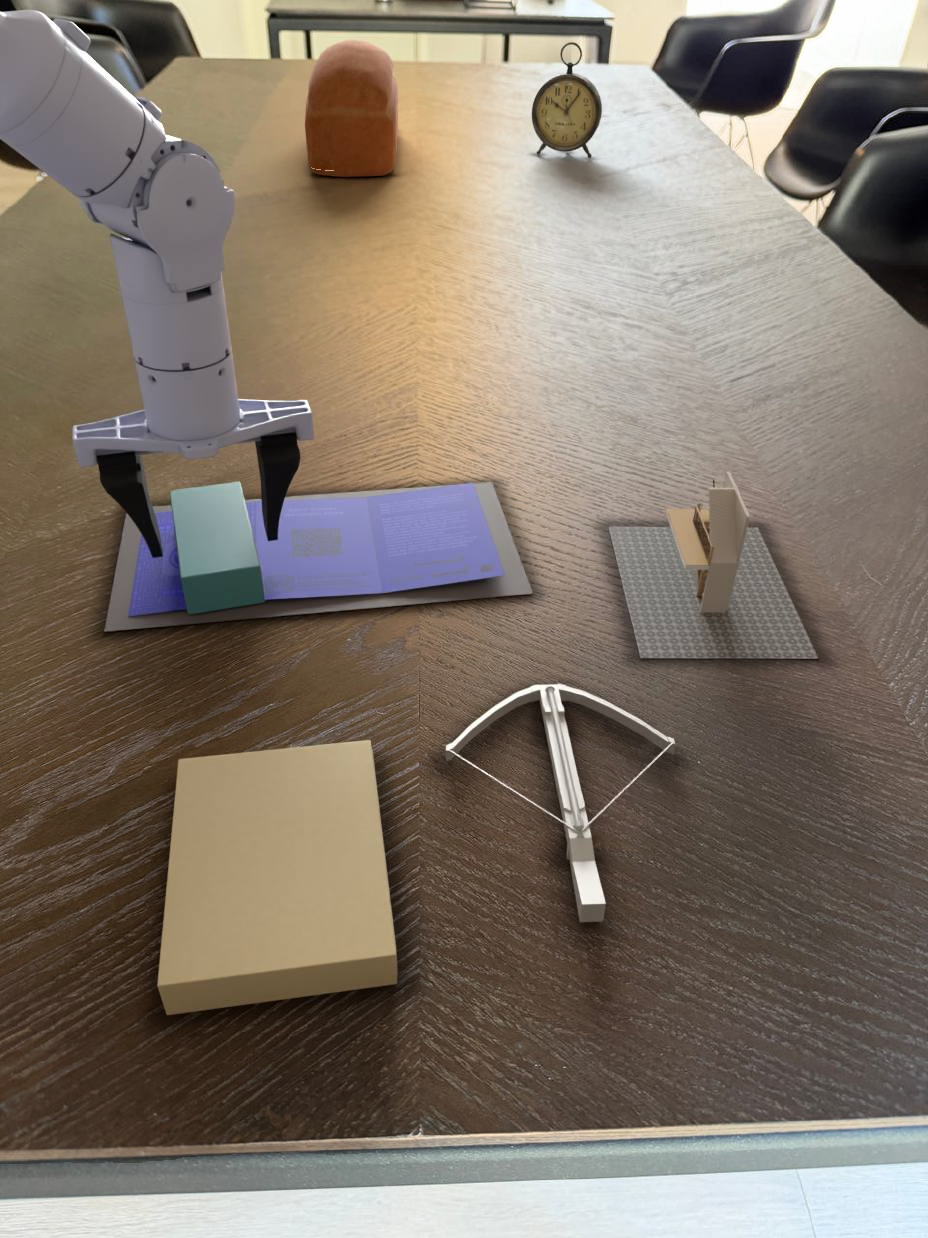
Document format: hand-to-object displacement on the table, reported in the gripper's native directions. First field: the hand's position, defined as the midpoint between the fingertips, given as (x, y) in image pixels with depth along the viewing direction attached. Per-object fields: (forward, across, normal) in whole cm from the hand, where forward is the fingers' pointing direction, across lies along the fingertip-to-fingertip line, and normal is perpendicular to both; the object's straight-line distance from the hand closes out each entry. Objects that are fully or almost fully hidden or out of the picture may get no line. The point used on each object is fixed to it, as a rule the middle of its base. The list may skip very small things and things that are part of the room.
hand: (214, 541), depth 66 cm
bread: (+2, +33, +113) cm, 117 cm away
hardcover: (+2, 0, -27) cm, 27 cm away
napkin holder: (+2, +32, -11) cm, 34 cm away
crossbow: (+2, +16, -26) cm, 31 cm away
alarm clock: (+2, +66, +103) cm, 123 cm away
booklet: (+2, +7, 0) cm, 7 cm away
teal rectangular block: (+2, 0, 0) cm, 2 cm away
